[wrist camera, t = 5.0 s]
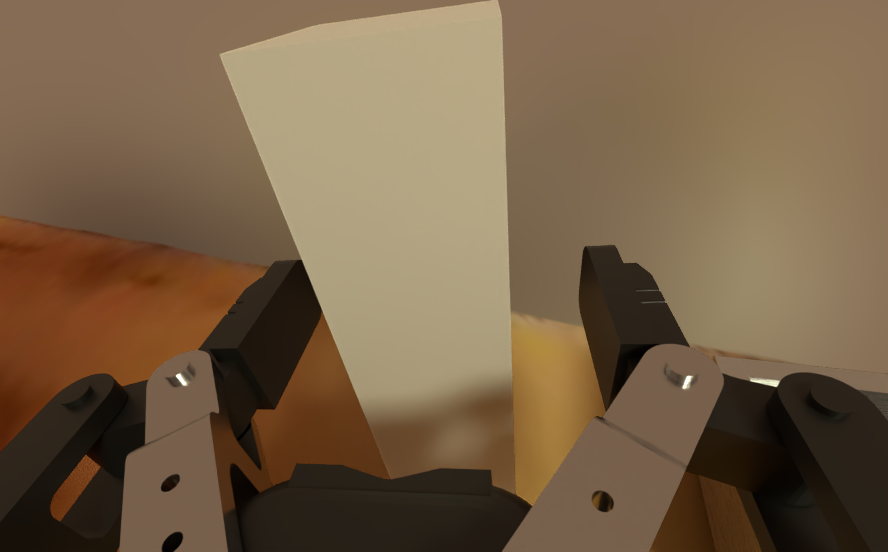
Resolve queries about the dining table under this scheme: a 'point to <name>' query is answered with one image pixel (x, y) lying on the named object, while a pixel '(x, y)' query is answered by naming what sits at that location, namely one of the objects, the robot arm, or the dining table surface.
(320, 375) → the dining table surface
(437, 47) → the rail post
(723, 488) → the cup bracket
